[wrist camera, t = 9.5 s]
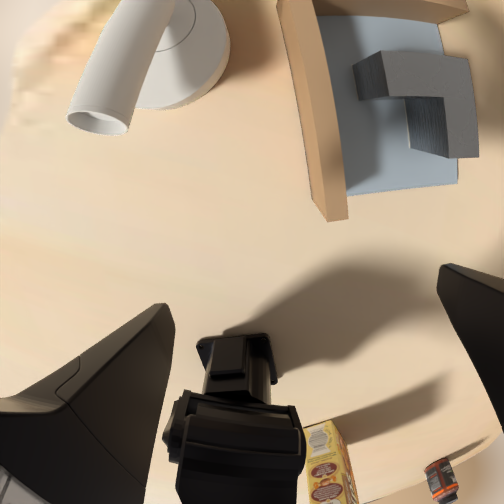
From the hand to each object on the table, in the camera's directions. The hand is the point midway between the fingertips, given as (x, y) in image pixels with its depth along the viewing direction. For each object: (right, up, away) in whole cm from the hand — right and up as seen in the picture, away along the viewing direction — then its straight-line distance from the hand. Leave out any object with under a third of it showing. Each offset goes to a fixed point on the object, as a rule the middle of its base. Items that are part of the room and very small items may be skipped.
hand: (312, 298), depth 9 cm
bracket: (+8, +11, +8) cm, 16 cm away
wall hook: (-8, +14, +8) cm, 18 cm away
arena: (+7, +12, +8) cm, 16 cm away
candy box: (+8, -23, +24) cm, 34 cm away
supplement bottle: (+38, -44, +33) cm, 67 cm away
